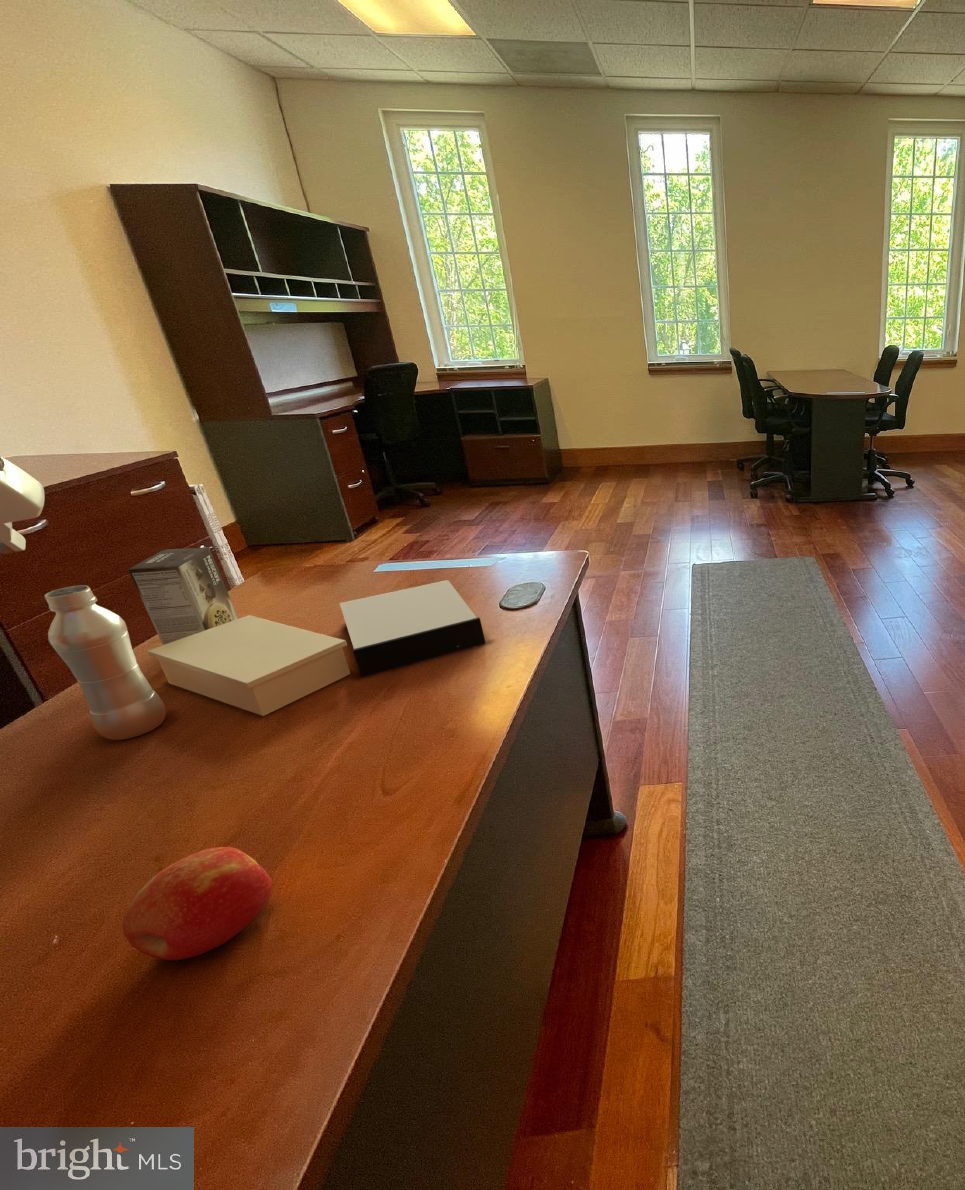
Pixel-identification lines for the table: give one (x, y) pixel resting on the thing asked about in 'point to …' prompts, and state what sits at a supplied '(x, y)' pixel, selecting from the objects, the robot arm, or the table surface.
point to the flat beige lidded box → (253, 663)
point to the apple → (197, 904)
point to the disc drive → (409, 626)
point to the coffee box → (183, 592)
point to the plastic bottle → (103, 664)
